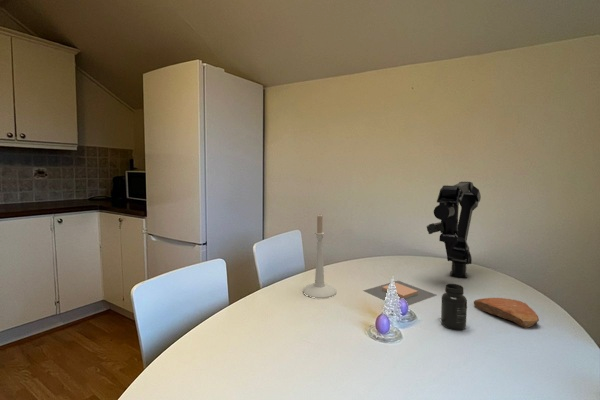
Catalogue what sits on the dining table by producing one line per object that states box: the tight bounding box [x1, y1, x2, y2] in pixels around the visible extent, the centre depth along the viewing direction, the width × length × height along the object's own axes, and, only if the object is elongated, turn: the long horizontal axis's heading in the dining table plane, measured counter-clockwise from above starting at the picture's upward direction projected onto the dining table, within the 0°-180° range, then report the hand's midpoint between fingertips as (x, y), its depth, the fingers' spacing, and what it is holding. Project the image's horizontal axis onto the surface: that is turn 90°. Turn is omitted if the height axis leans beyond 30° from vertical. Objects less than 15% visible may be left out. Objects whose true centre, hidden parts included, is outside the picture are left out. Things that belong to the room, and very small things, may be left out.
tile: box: [382, 283, 418, 299], centre depth 117 cm, size 2×10×8 cm
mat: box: [362, 280, 438, 307], centre depth 117 cm, size 20×18×1 cm
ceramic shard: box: [473, 297, 540, 329], centre depth 99 cm, size 15×6×15 cm
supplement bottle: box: [440, 283, 468, 331], centre depth 93 cm, size 7×7×12 cm
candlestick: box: [302, 214, 337, 299], centre depth 118 cm, size 13×13×30 cm
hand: (448, 255), depth 126 cm, fingers closed
